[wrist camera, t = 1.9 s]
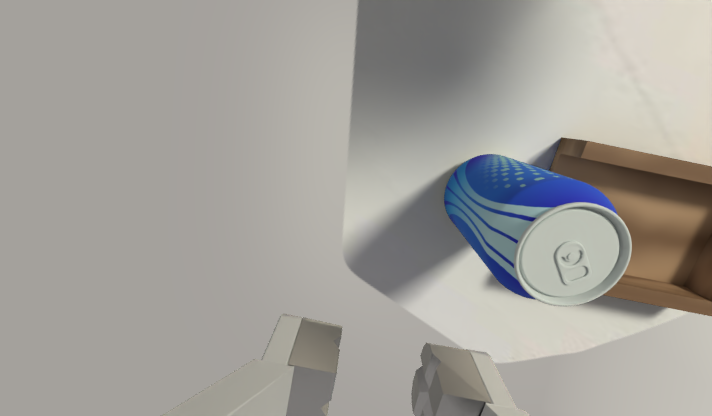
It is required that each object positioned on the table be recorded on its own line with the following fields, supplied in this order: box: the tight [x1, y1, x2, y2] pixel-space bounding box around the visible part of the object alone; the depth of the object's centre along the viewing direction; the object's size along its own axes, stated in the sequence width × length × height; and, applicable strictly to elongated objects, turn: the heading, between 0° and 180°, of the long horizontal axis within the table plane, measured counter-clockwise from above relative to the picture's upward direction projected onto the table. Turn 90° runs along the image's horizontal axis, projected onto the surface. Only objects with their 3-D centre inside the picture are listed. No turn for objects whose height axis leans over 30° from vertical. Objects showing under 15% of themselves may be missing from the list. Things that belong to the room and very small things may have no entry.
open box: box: [550, 138, 712, 316], centre depth 33 cm, size 14×20×4 cm
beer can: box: [444, 154, 632, 306], centre depth 27 cm, size 8×8×16 cm
